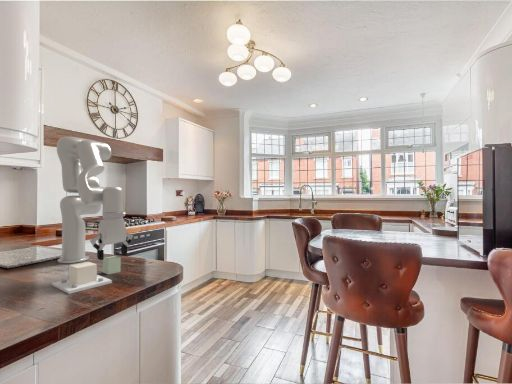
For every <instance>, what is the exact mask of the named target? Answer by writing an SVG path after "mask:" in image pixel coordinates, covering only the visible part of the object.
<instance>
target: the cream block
mask: <svg viewBox="0 0 512 384" xmlns="http://www.w3.org/2000/svg"><path fill="white" fill-rule="evenodd" d="M97 275H98V264H97V263H93V262H91V261H83V262H77V263H74V264H73V263H72V264H69V265H68V279H69V282H70V283H73V284H78V285H81V284H85V283H89V282H93V281H97Z"/></svg>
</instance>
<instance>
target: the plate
mask: <svg viewBox="0 0 512 384" xmlns="http://www.w3.org/2000/svg"><path fill="white" fill-rule="evenodd" d="M110 284H113V279H110V278H107V277H104V276H102V275H99V274H97V281H93V282H89V283H85V284H81V285H78V284H73V283H70V282H69V278H65V279H61V280H58V281H53V282H52V283H51V286H53V287H55V288H56V289H58V290H61V291H62V292H64V293H66V294H68V295H70V294H74V293H78V292H81V291H82V292H83V291H86V290H90V289H93V288H97V287H98V288H99V287H101V286H105V285H110Z"/></svg>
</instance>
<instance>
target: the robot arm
mask: <svg viewBox="0 0 512 384" xmlns="http://www.w3.org/2000/svg"><path fill="white" fill-rule="evenodd" d="M56 152H57V156H58V158H59V162H60V165H61V178H62V179H61V181H62V182H61V183H62V189H63V190H64V191H65V192H66V193H69V194H78V195H67V196H63V198H62V199H60V202H59V208H60V214H61V229H62V230H61V257H59V258H58V259H57V263H59V264H73V263H74V264H78V263H83V262H87V261H88V260H89V259H90V258H89V257H90V256H89V255H86V222H85V220H84V219H83V218H82V216H84V215H96V214H98V213H100V212H101V210H102V219H100V220H99V224H98V231H97V235H96V236H95V237H93V238H91V239H90V240H89V243H90V244H91V245H92V247H93V248H94V249H95V250H96V254H97V255H96V257H97V260H100V261H103V259H104V258H105V255H104V254H105V253H104V250H103V249H104V248H105V246H106V245H113V244H121V246H120V247H121V251H120V254H121V256H125V257H126V256H127V255H128V247H129V244H130V243H131V242H132V239H133V237H134V235H133V234H132V233H129V232H127V228H126V226H127V225H126V223H125V219H124V217H125V216H126V212H123V211H124V209H123V208H124V207H123V203H124V201H123V200H124V198H123V194H124V193H123V191H124V190H123V188H122V187H120V186H101V183H100V180H99V178H98V177H97V176H98V175H100V174H102V173H104V171H105V165H104V162H103V161H109V160H110V158H111V157H112V149H111V147H110V145H109V144H108V143H106V142H102V141H99V140H95V139H89V138H82V137H76V136H70V135H69V136H62V137H60V138H59V139H58V141H57V142H56ZM76 155H77V156H78V157H76ZM101 208H102V209H101Z"/></svg>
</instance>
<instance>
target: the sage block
mask: <svg viewBox="0 0 512 384" xmlns="http://www.w3.org/2000/svg"><path fill="white" fill-rule="evenodd" d="M121 260H122V257H120V256H118V255H117V256H116V255H113V256H108V257H107V256H106V257H104V259H103V260H102V273H103V274H106V275H113V274H117V273H120V272H121V266H122V264H121Z"/></svg>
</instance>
